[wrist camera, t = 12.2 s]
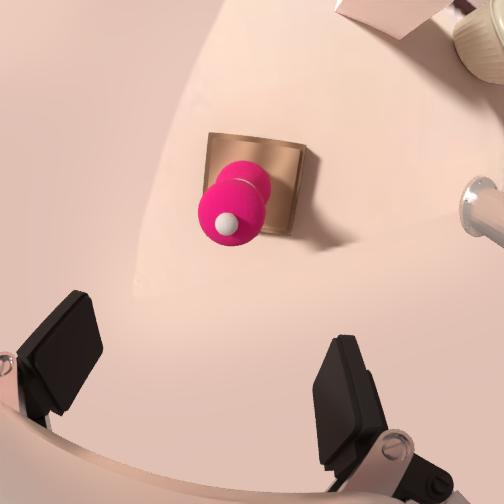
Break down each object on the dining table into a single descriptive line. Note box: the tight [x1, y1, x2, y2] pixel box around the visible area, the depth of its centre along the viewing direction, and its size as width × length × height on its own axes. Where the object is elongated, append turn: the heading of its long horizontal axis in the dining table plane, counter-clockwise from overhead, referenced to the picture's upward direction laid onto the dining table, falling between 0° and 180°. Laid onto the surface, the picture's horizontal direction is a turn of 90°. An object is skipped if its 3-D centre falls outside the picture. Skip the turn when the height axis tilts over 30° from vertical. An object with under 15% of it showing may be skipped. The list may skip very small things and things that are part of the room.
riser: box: [203, 133, 306, 236], centre depth 41 cm, size 14×14×4 cm
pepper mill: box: [198, 160, 271, 246], centre depth 30 cm, size 7×7×20 cm
